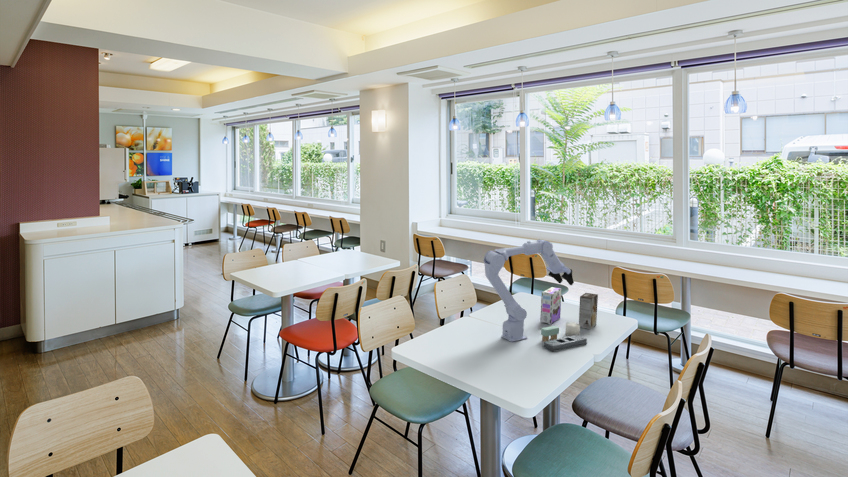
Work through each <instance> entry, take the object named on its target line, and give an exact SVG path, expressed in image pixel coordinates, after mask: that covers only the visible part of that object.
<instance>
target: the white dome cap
mask: <svg viewBox="0 0 848 477" xmlns="http://www.w3.org/2000/svg"><path fill="white" fill-rule="evenodd" d="M580 328H581V327H580V325H579V323H576V322H566V323H565V331H564V332H565V336H566V337H568V336H573V335H579V336H580V333H581V332H580Z"/></svg>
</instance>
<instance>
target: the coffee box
mask: <svg viewBox="0 0 848 477" xmlns="http://www.w3.org/2000/svg"><path fill="white" fill-rule="evenodd" d="M598 298H599V294H597V293H591V292H585V293H583V294H582V295H580V296H579V309H578V311H579V312H578V324H579V325H580V328H582V329H588V330H592V329H593V328H594V327H596V326H597V320H598V319H597V316H598V304H599V303H598V300H599V299H598Z"/></svg>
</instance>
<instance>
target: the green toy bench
mask: <svg viewBox="0 0 848 477" xmlns="http://www.w3.org/2000/svg"><path fill="white" fill-rule="evenodd" d="M559 334H560V327H558V326H557V325H552V326H547V327H546V326H545V327H542V328H541V329H540V335H541V337H542V339H541V341H542V342H544V341H549V340H554V339H558V335H559Z"/></svg>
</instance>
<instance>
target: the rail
mask: <svg viewBox="0 0 848 477" xmlns="http://www.w3.org/2000/svg"><path fill="white" fill-rule="evenodd" d="M587 341H588V338H586V337H583V336H582V335H580V334H579V335H573V336H563V337H559V338H557V339H554V340H552V339H549V341H543V348H545V349H547V350H549V351H551V352H552V353H553V352H557V351H561V350H566V349H570V348H575V347H579V346H584V345H587V343H588V342H587Z"/></svg>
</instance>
